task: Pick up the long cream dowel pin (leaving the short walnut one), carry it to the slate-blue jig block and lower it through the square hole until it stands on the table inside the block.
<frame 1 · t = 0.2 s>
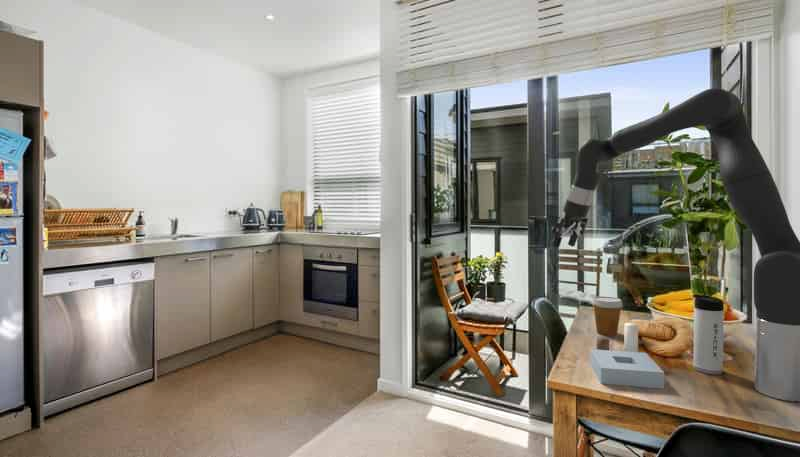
hand: (563, 246, 141), 31 cm above the table, tool tilted 20°, fingers open, 8 cm apart
short pin: (602, 354, 123), on the table
long pin: (630, 358, 120), on the table
disposable coffee cup: (606, 333, 144), on the table
travel mug: (706, 370, 111), on the table
jig block: (624, 374, 108), on the table
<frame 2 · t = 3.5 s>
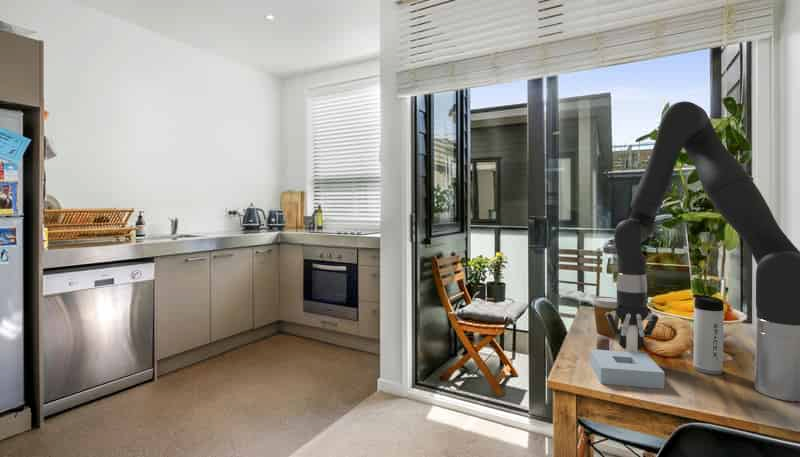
hand: (631, 348, 120), 3 cm above the table, tool pointing down, fingers closed on long pin, 3 cm apart
long pin: (630, 358, 120), on the table, touching gripper
everything else where it was.
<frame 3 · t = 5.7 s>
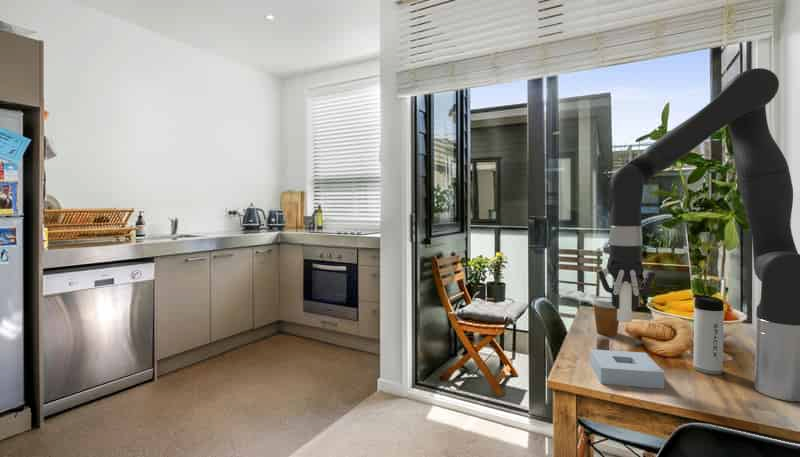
hand: (624, 308, 109), 17 cm above the table, tool pointing down, fingers closed on long pin, 3 cm apart
long pin: (624, 320, 109), point 14 cm above the table, touching gripper
everything else where it was.
when the fingers open (5 cm above the table, at t = 7.9 s): long pin drops 2 cm, resting in jig block.
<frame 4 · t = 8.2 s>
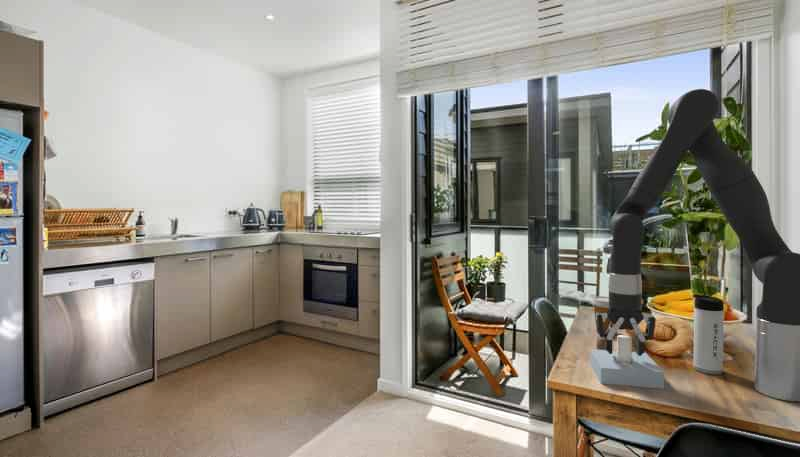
hand: (624, 353, 108), 6 cm above the table, tool pointing down, fingers open, 6 cm apart
long pin: (623, 374, 108), resting in jig block
everything else where it was.
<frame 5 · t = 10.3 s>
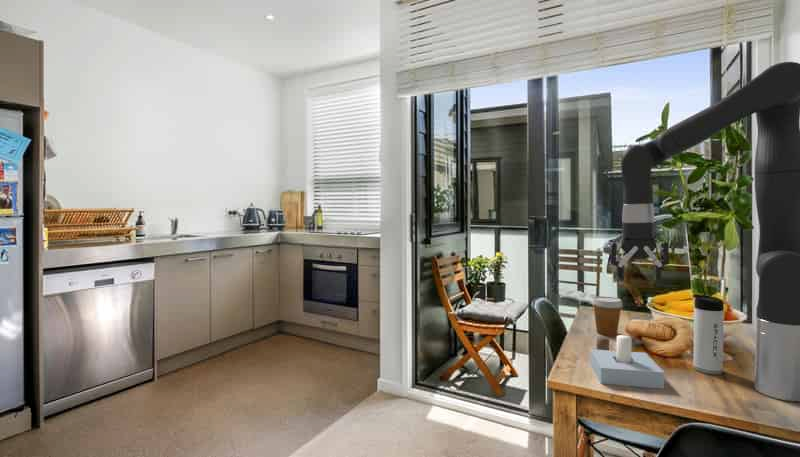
hand: (638, 280, 113), 24 cm above the table, tool pointing down, fingers open, 8 cm apart
nothing on the table moved.
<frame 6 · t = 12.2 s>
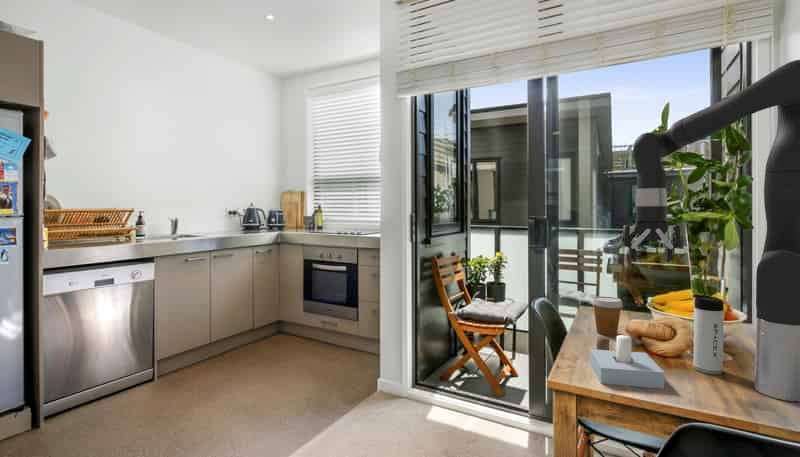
hand: (650, 261, 118), 28 cm above the table, tool pointing down, fingers open, 8 cm apart
nothing on the table moved.
at the end: long pin 0.1 cm off-centre on the jig block, point 0.0 cm above the jig block's base; long pin tilted 1°; short pin moved 0.0 cm from its start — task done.
